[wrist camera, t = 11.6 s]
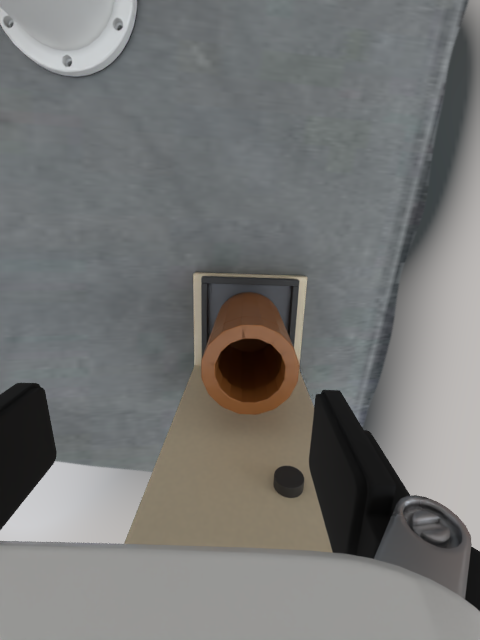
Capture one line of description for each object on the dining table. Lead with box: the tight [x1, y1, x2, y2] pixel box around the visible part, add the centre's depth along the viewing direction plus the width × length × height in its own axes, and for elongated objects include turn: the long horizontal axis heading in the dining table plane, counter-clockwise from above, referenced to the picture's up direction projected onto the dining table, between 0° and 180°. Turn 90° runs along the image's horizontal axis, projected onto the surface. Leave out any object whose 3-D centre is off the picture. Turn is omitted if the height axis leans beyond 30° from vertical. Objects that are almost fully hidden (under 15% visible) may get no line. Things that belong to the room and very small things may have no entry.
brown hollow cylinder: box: [201, 292, 300, 415], centre depth 27 cm, size 7×7×12 cm
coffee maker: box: [124, 272, 333, 553], centre depth 23 cm, size 16×12×24 cm
